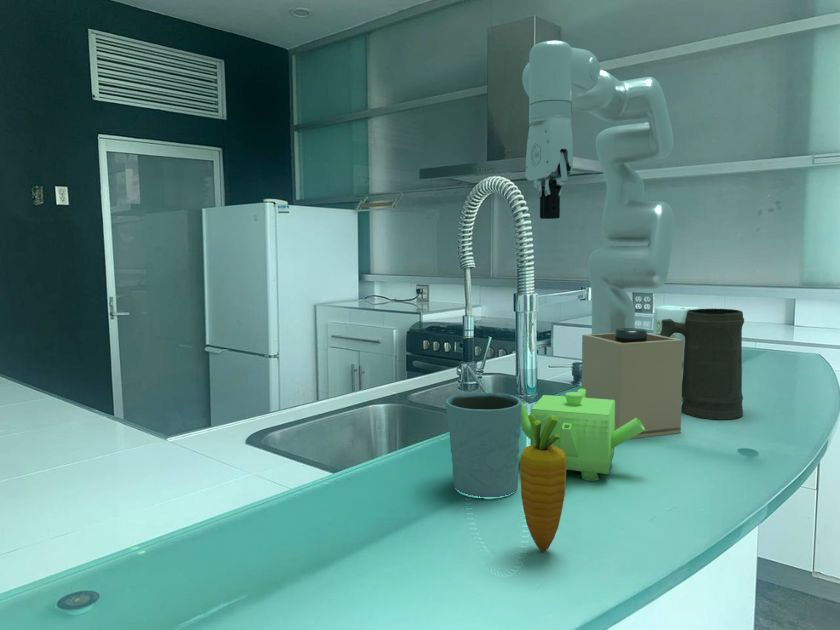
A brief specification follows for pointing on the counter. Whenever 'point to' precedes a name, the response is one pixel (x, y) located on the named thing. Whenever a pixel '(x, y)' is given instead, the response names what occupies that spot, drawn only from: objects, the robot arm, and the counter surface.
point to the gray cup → (484, 442)
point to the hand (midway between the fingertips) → (549, 218)
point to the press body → (636, 379)
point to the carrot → (543, 483)
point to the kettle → (582, 430)
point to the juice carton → (676, 315)
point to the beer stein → (711, 362)
